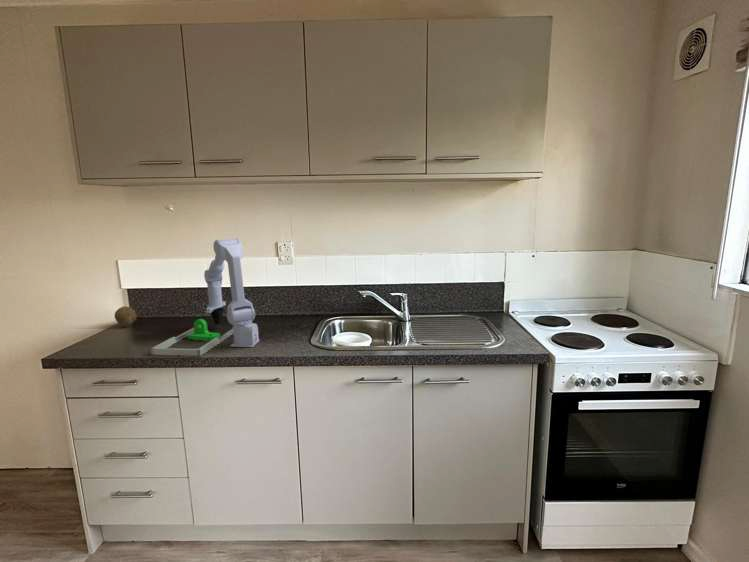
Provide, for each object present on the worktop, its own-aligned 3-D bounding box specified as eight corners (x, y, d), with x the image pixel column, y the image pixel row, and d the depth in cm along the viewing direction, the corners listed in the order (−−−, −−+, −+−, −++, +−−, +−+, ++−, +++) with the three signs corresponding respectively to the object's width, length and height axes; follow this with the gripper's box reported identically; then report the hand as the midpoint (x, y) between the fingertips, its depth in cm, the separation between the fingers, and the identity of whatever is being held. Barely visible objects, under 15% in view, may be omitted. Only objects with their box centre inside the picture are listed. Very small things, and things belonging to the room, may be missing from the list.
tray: (218, 343, 167) (218, 337, 167) (200, 356, 154) (199, 349, 153) (173, 342, 170) (172, 337, 169) (151, 354, 156) (150, 348, 156)
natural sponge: (128, 323, 201) (125, 304, 199) (142, 324, 199) (139, 304, 197) (112, 328, 192) (109, 308, 191) (126, 329, 190) (123, 309, 188)
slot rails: (240, 329, 187) (239, 325, 187) (218, 343, 167) (218, 339, 167) (199, 328, 189) (198, 324, 189) (173, 342, 170) (172, 338, 170)
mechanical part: (188, 339, 174) (186, 322, 173) (198, 335, 180) (196, 318, 178) (210, 342, 170) (209, 324, 169) (220, 337, 176) (218, 320, 174)
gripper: (214, 292, 192) (217, 319, 194) (198, 299, 178) (201, 328, 180) (228, 292, 191) (231, 319, 194) (213, 299, 177) (216, 328, 179)
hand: (217, 324), depth 187 cm, fingers closed
